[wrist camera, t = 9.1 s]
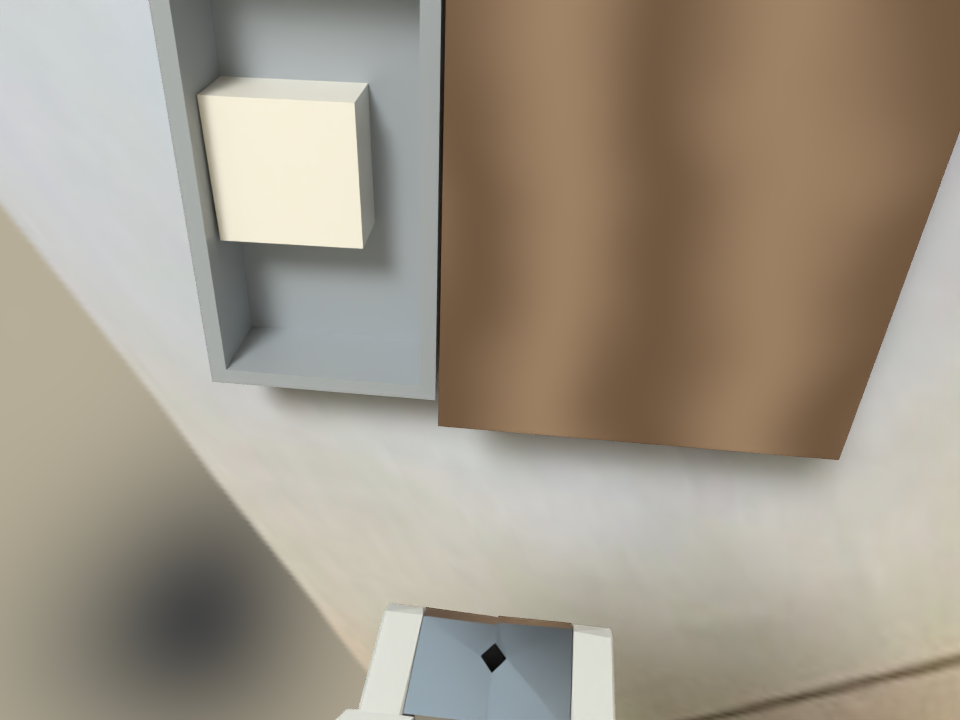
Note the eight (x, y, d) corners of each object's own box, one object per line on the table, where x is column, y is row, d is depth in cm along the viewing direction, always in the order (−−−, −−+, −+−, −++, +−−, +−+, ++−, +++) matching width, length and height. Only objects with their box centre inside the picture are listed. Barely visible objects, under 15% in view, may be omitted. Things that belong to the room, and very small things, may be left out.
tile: (196, 94, 26) (220, 76, 28) (220, 240, 29) (240, 214, 31) (354, 103, 26) (367, 83, 28) (362, 248, 29) (374, 222, 30)
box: (456, -101, 25) (442, -88, 22) (446, 349, 34) (435, 400, 31) (180, -116, 25) (131, -106, 22) (242, 332, 34) (212, 381, 31)
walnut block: (946, -73, 24) (1025, -48, 20) (804, 377, 33) (838, 459, 29) (466, -100, 25) (446, -81, 21) (453, 349, 34) (438, 425, 30)
